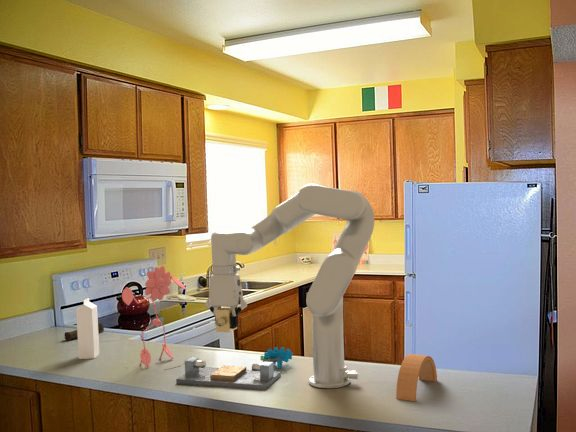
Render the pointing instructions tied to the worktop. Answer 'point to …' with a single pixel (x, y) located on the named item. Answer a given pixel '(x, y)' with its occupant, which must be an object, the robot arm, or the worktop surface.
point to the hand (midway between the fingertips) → (226, 327)
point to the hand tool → (74, 335)
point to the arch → (414, 375)
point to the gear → (277, 356)
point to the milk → (87, 330)
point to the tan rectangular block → (223, 319)
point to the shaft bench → (238, 383)
